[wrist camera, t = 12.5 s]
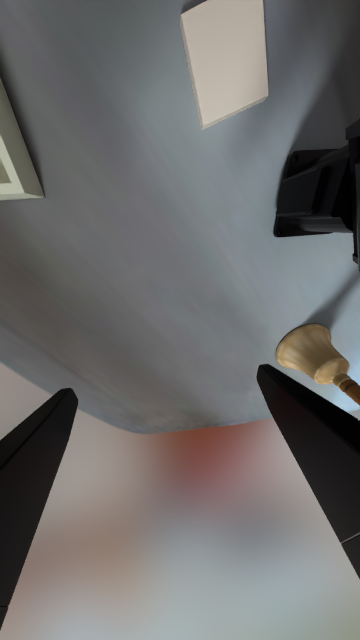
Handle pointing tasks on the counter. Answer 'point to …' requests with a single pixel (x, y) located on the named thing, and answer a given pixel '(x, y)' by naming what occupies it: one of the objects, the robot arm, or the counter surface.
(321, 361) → the hand bell
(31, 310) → the counter surface
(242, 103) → the tile white
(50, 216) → the counter surface
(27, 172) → the tray
